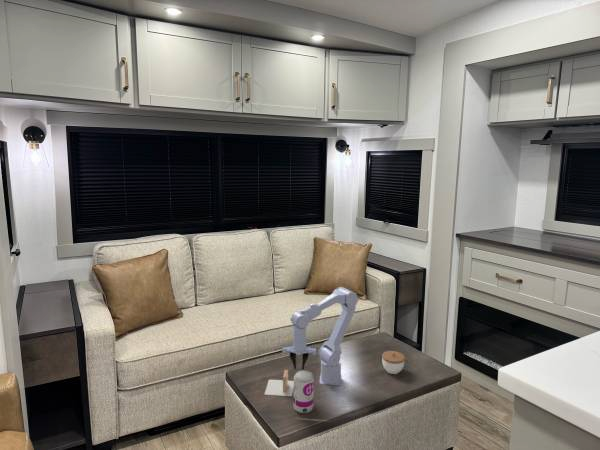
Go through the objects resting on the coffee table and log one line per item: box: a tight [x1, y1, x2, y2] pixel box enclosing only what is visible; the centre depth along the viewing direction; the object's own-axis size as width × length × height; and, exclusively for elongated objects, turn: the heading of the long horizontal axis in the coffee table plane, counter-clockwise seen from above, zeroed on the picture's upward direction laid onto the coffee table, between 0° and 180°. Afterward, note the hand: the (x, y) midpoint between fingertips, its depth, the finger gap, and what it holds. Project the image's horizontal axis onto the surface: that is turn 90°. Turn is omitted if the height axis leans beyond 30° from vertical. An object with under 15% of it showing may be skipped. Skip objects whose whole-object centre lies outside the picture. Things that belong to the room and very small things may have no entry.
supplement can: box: [292, 369, 315, 414], centre depth 167 cm, size 8×8×15 cm
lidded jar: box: [381, 350, 406, 375], centre depth 198 cm, size 11×11×9 cm
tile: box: [282, 369, 289, 392], centre depth 181 cm, size 2×6×7 cm, turn 175°
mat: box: [264, 379, 294, 397], centre depth 182 cm, size 12×12×1 cm
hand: (299, 368), depth 180 cm, fingers open, 3 cm apart
